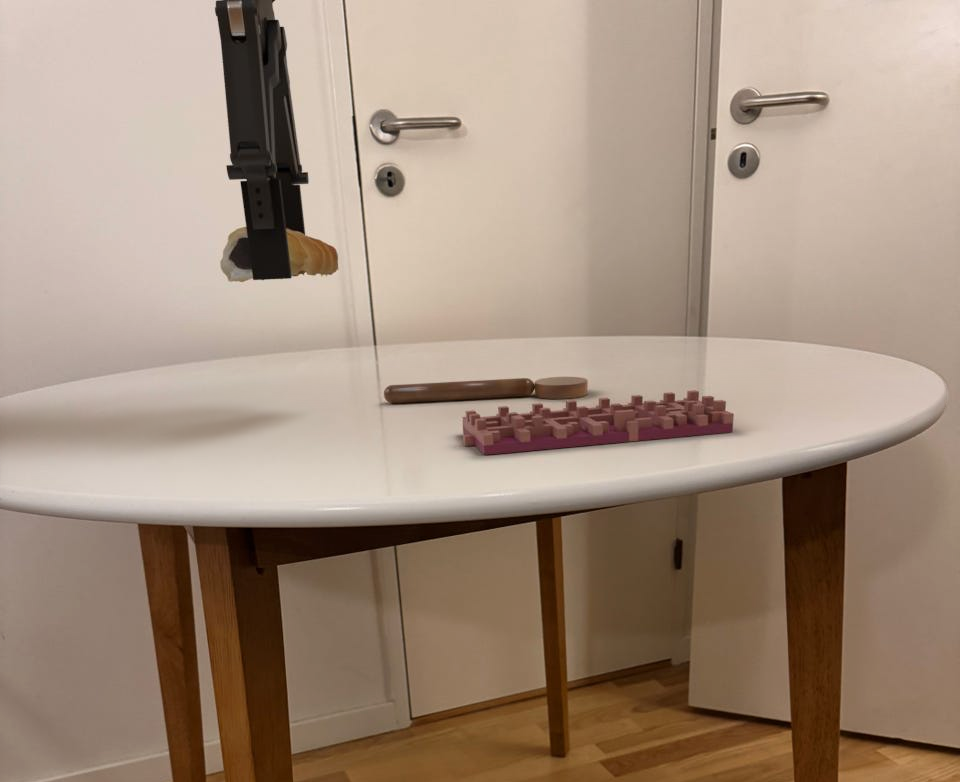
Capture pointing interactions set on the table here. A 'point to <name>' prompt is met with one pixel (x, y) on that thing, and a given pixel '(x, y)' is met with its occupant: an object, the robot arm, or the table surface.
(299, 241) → the pastry
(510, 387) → the wooden spoon
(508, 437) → the pink studded slab
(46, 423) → the table surface
